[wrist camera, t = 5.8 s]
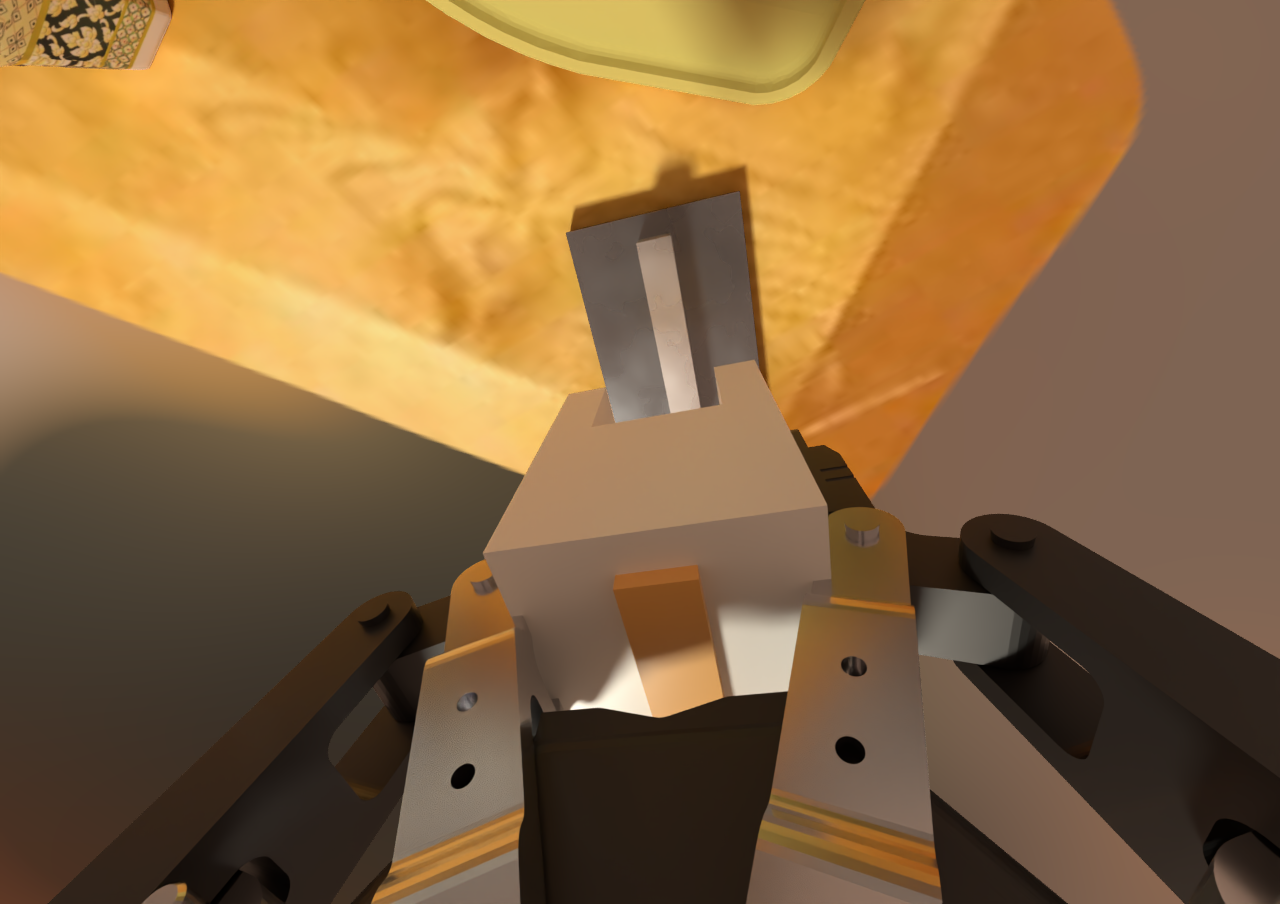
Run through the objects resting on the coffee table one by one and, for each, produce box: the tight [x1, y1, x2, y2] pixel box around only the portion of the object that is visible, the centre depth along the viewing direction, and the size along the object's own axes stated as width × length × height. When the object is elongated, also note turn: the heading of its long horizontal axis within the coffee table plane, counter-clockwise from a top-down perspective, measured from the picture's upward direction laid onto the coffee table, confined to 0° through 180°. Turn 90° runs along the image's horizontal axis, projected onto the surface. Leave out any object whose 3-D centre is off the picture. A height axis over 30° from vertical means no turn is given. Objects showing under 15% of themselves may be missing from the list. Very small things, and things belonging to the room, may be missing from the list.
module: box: [483, 360, 831, 718], centre depth 11 cm, size 5×5×7 cm
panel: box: [566, 191, 759, 423], centre depth 24 cm, size 12×8×3 cm, turn 12°
